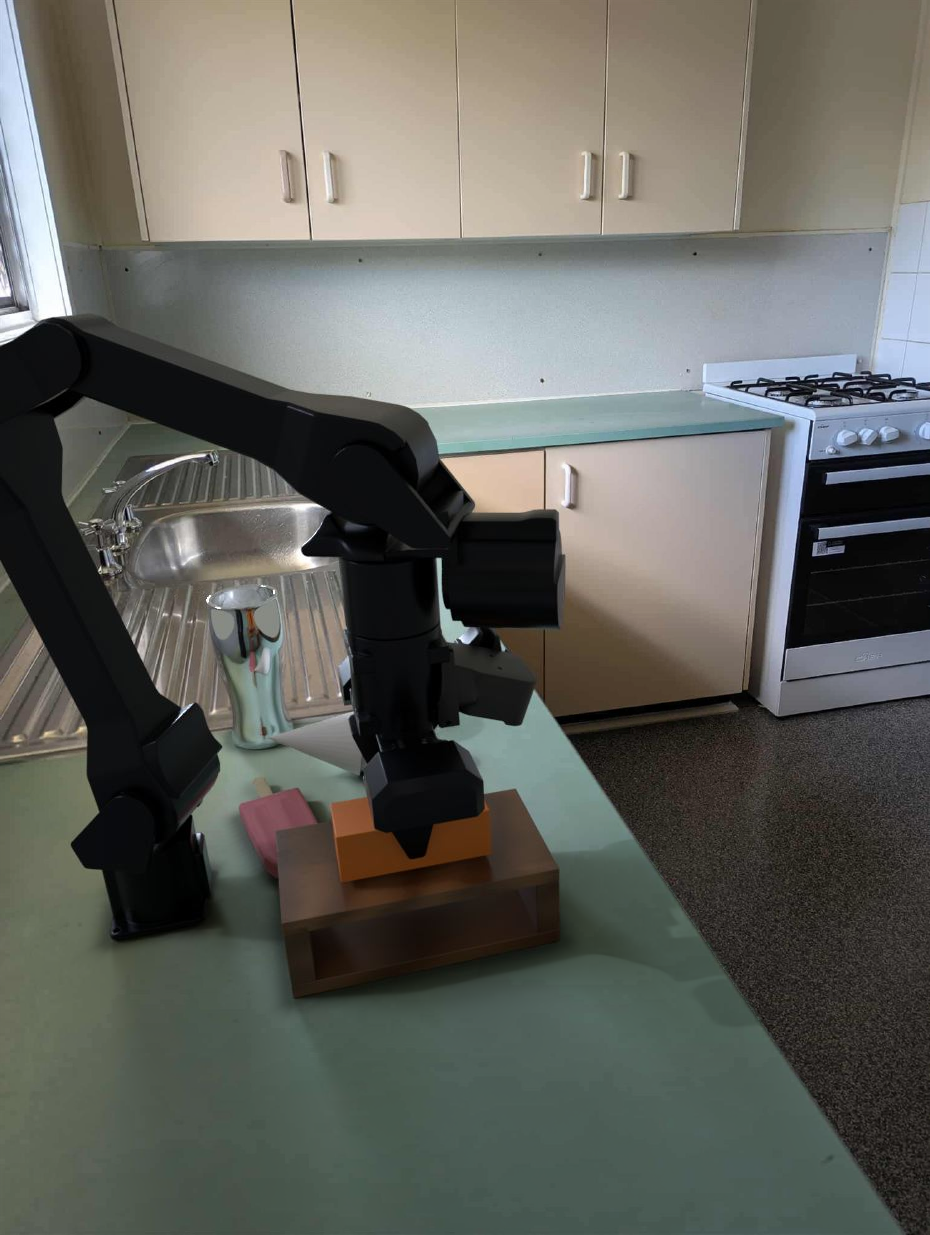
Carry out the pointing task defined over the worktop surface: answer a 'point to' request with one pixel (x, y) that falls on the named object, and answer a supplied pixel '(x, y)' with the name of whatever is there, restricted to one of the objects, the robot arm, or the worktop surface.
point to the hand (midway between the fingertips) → (411, 837)
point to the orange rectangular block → (381, 852)
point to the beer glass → (251, 661)
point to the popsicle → (273, 819)
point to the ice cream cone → (326, 743)
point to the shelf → (422, 939)
